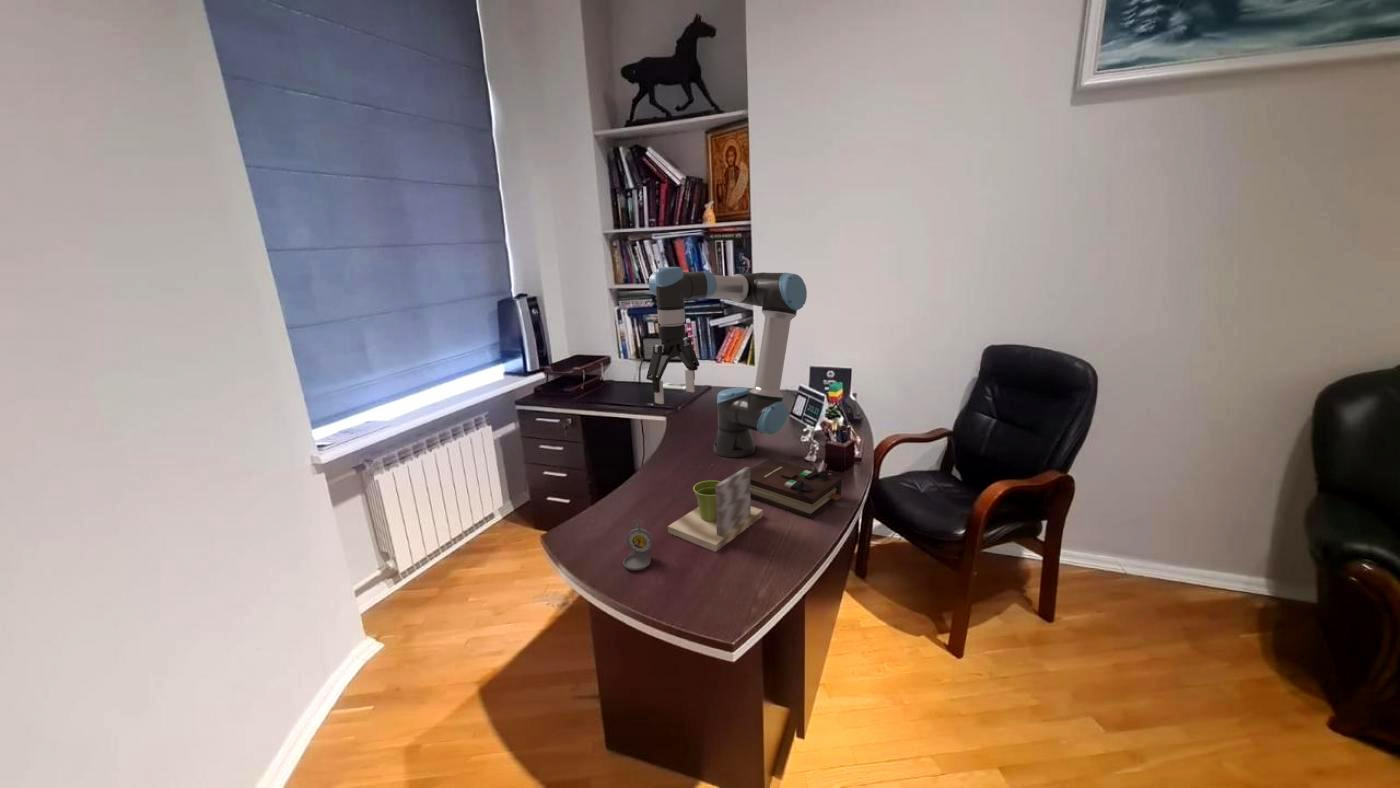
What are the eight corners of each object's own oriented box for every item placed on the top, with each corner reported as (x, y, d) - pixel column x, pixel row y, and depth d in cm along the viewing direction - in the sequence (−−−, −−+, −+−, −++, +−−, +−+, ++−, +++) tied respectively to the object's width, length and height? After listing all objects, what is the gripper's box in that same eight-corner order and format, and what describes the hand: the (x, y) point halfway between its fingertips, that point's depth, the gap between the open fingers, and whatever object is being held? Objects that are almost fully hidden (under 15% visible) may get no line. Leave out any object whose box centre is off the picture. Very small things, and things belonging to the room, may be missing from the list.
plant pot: (695, 508, 155) (693, 480, 152) (728, 507, 154) (727, 479, 152) (693, 525, 146) (692, 495, 143) (729, 524, 145) (728, 494, 143)
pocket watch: (628, 574, 129) (624, 537, 126) (618, 556, 136) (615, 521, 133) (660, 565, 132) (658, 529, 129) (649, 548, 139) (647, 513, 136)
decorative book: (766, 452, 179) (851, 476, 159) (766, 474, 181) (850, 499, 162) (729, 472, 165) (817, 500, 146) (730, 495, 167) (817, 525, 148)
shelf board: (717, 501, 163) (715, 451, 158) (762, 516, 153) (762, 463, 148) (668, 532, 146) (664, 478, 142) (715, 552, 137) (713, 494, 132)
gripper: (689, 317, 163) (692, 385, 169) (629, 329, 145) (635, 406, 150) (709, 318, 159) (711, 388, 165) (650, 332, 140) (655, 410, 146)
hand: (675, 397), depth 158 cm, fingers open, 13 cm apart
